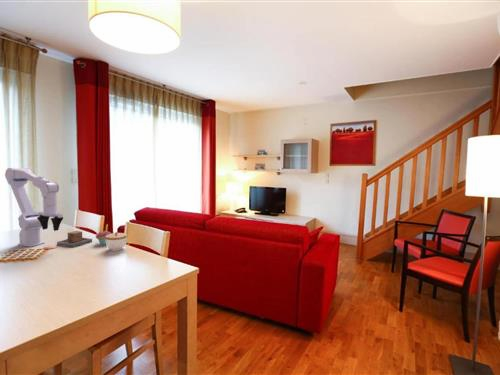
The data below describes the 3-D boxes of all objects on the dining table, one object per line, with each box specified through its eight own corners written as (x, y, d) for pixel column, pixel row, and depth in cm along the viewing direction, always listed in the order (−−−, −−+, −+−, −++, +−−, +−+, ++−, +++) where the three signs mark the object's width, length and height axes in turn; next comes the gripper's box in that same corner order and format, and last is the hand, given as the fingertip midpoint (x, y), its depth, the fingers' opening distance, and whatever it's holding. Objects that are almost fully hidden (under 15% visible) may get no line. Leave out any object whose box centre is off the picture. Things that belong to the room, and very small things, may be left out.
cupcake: (115, 241, 160) (115, 222, 159) (106, 245, 152) (106, 225, 151) (102, 240, 161) (101, 221, 160) (92, 245, 153) (92, 224, 152)
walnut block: (67, 242, 153) (67, 232, 153) (75, 240, 158) (75, 230, 157) (74, 243, 152) (74, 233, 151) (82, 241, 156) (82, 231, 156)
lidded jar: (118, 253, 141) (118, 235, 140) (100, 251, 143) (100, 233, 142) (131, 247, 151) (131, 230, 150) (114, 245, 153) (114, 229, 153)
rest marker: (40, 248, 143) (40, 248, 143) (51, 245, 149) (51, 245, 149) (48, 250, 142) (48, 249, 142) (59, 246, 148) (59, 246, 148)
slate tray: (57, 244, 151) (56, 241, 151) (76, 239, 162) (76, 236, 162) (73, 247, 147) (73, 244, 147) (92, 241, 159) (91, 238, 159)
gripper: (31, 204, 142) (32, 230, 143) (53, 206, 138) (54, 232, 139) (45, 203, 149) (45, 227, 150) (65, 205, 145) (66, 229, 146)
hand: (50, 229), depth 145 cm, fingers open, 7 cm apart
